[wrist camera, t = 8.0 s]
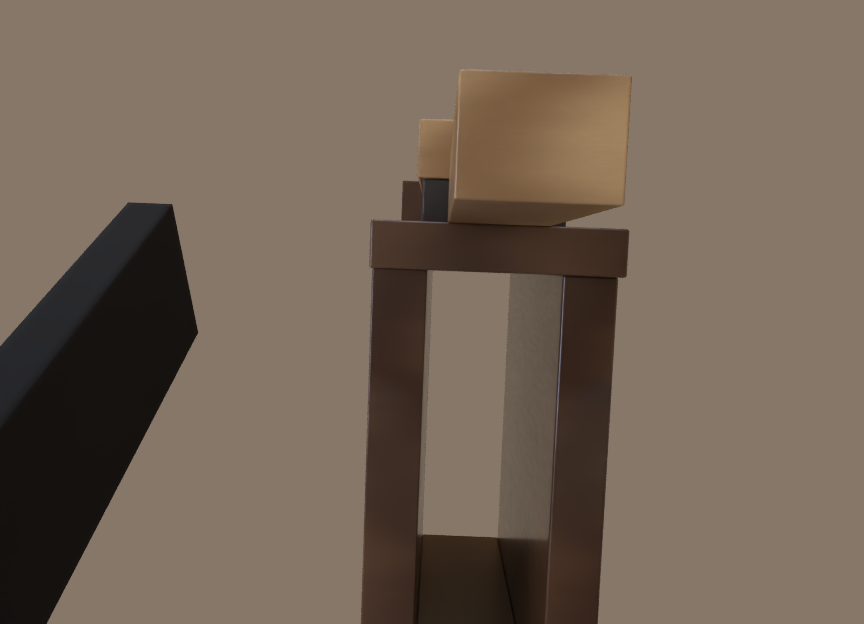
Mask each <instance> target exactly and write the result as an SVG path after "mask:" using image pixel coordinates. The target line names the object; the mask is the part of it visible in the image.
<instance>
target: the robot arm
mask: <svg viewBox="0 0 864 624" xmlns="http://www.w3.org/2000/svg"><path fill="white" fill-rule="evenodd" d="M197 334H198V330H197V325H196V320H195V315H194V310H193V305H192V300H191V295H190V290H189V285H188V280H187V275H186V270H185V266H184V260H183V255H182V250H181V246H180V241H179V235H178V231H177V226H176V221H175V216H174V211H173V206H172V204H152V203H127V205H126V206H125V207H124V208H123V209H122V210H121V211H120V213H119V214H118V215H117V216H116V217H115V218H114V219H113V220H112V222H111V223H110V224H109V225H108V226H107V227H106V228H105V229H104V230H103V231H102V233H101V234H100V235H99V236H98V237H97V238H96V239H95V240H94V242H93V243H92V244H91V245H90V246H89V247H88V248H87V249H86V251H85V252H84V253H83V254H82V255H81V256H80V257H79V259H78V260H77V261H76V262H75V263H74V264H73V265H72V266H71V268H70V269H69V270H68V271H67V272H66V273H65V274H64V275H63V276H62V278H61V279H60V280H59V281H58V282H57V283H56V284H55V285H54V287H53V288H52V289H51V290H50V291H49V292H48V293H47V294H46V296H45V297H44V298H43V299H42V300H41V301H40V302H39V304H37V306H36V307H35V308H34V309H33V310H32V312H30V313H29V315H28V316H27V317H26V318H25V319H24V320H23V321H22V322H21V324H20V325H19V326H18V327H17V328H16V329H15V330H14V331H13V333H12V334H11V335H10V336H9V337H8V338H7V339H6V340H5V342H4V343H3V344H2V345H1V346H0V624H47V622H48V620H49V618H50V616H51V614H52V612H53V610H54V608H55V606H56V604H57V603H58V601H59V599H60V597H61V595H62V593H63V591H64V589H65V587H66V585H67V583H68V581H69V580H70V577H71V576H72V574H73V572H74V570H75V568H76V566H77V564H78V562H79V560H80V558H81V556H82V554H83V553H84V551H85V549H86V547H87V545H88V543H89V541H90V539H91V537H92V535H93V533H94V532H95V530H96V528H97V526H98V524H99V522H100V520H101V518H102V516H103V514H104V512H105V510H106V508H107V507H108V505H109V503H110V501H111V499H112V497H113V495H114V493H115V491H116V489H117V487H118V485H119V483H120V482H121V480H122V478H123V476H124V474H125V472H126V470H127V468H128V466H129V464H130V462H131V460H132V459H133V456H134V454H135V453H136V451H137V449H138V447H139V445H140V443H141V441H142V439H143V437H144V435H145V433H146V432H147V430H148V428H149V426H150V424H151V422H152V420H153V418H154V416H155V414H156V412H157V411H158V409H159V407H160V405H161V403H162V401H163V399H164V397H165V395H166V393H167V391H168V389H169V387H170V385H171V384H172V382H173V380H174V378H175V376H176V374H177V372H178V370H179V368H180V366H181V364H182V363H183V361H184V359H185V357H186V355H187V352H188V351H189V349H190V347H191V345H192V343H193V341H194V339H195V338H196V336H197Z"/></svg>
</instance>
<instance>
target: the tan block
mask: <svg viewBox="0 0 864 624" xmlns="http://www.w3.org/2000/svg"><path fill="white" fill-rule="evenodd" d="M631 83H632V77H631V76H630V75H608V74H580V73H579V74H578V73H554V72H524V71H500V70H471V69H461V70H459V75H458V85H457V95H456V105H455V114H454V120H441V119H420V121H419V146H418V173H417V175H418V179H419V183H420V187H421V190H422V194H423V198H422V221H427V222H453V223H479V224H505V225H531V226H557V227H566V222H567V221H570V220H573V219H578V218H581V217H585V216H588V215H592V214H595V213H599V212H602V211H606V210H609V209H612V208H616V207H620V206H623V205H624V199H625V183H626V167H627V166H626V165H627V149H628V132H629V115H630V100H631Z"/></svg>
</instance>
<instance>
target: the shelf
mask: <svg viewBox="0 0 864 624" xmlns="http://www.w3.org/2000/svg"><path fill="white" fill-rule="evenodd" d="M422 198H423V194H422V190H421V187H420V183H419V181H403V192H402V220H371V231H370V262H369V266H370V267H371V268H373V269H372V293H371V325H370V356H369V387H368V419H367V449H366V452H367V453H366V482H365V513H364V514H365V515H364V544H363V575H362V577H363V578H362V608H361V624H598V607H599V589H600V573H601V557H602V540H603V523H604V507H605V489H606V472H607V456H608V439H609V423H610V405H611V389H612V372H613V356H614V339H615V321H616V305H617V288H618V277H619V278H624V277H626V276H627V261H628V244H629V230H627V229H609V228H607V229H606V228H583V227H582V228H581V227H557V226H531V225H505V224H479V223H453V222H427V221H422ZM433 270H438V271H464V272H490V273H491V272H492V273H510V291H509V292H510V293H509V313H508V335H507V355H506V376H505V397H504V418H503V439H502V461H501V481H500V483H501V484H500V502H499V525H498V538H492V537H469V536H446V535H422V531H423V505H424V480H425V453H426V428H427V402H428V376H429V351H430V349H429V348H430V325H431V298H432V297H431V296H432V273H433Z"/></svg>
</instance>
